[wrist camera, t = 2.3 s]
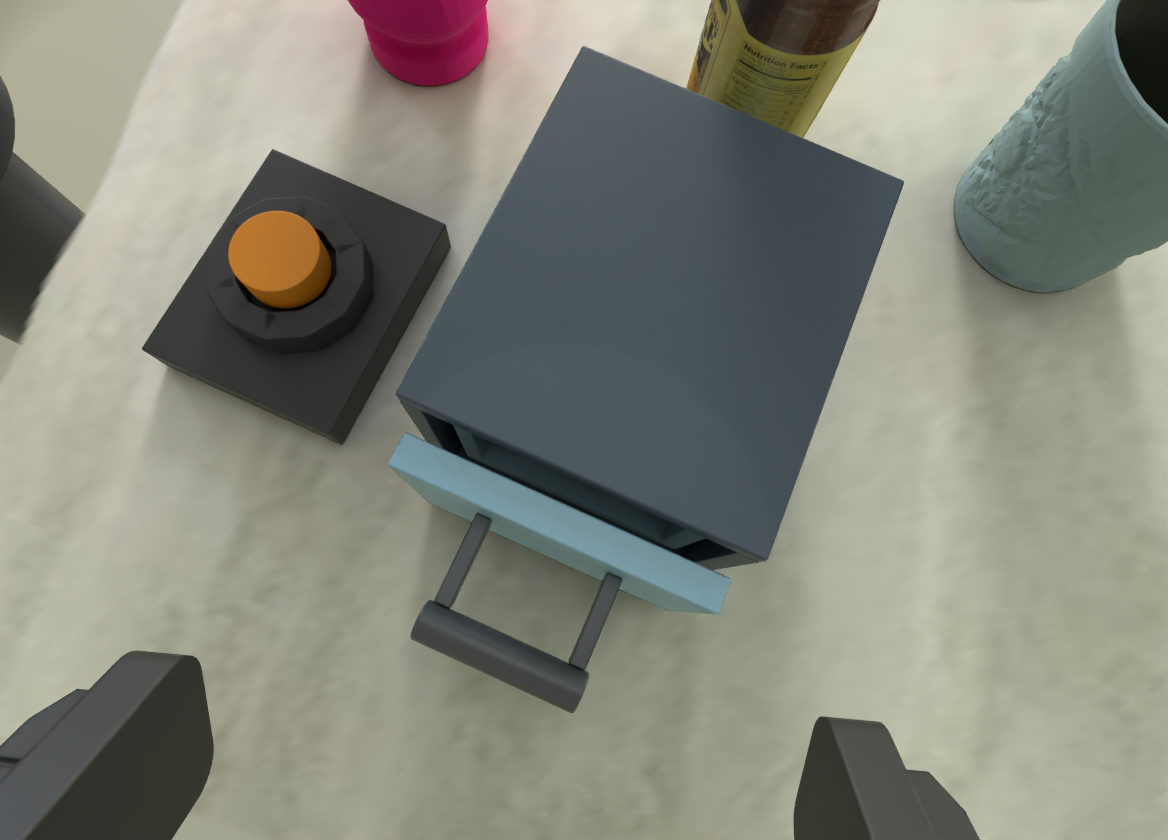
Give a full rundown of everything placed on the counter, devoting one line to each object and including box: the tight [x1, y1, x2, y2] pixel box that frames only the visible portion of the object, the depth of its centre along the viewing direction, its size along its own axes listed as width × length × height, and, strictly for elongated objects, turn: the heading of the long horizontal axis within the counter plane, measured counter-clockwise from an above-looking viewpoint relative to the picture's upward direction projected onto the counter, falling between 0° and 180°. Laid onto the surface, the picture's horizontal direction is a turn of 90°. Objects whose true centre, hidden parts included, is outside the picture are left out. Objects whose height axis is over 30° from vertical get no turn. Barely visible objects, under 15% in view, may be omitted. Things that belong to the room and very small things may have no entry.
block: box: [142, 149, 451, 444], centre depth 32 cm, size 9×11×4 cm
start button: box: [228, 211, 331, 308], centre depth 29 cm, size 4×4×2 cm
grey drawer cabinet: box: [396, 46, 904, 570], centre depth 29 cm, size 15×13×11 cm
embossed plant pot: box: [954, 0, 1168, 293], centre depth 32 cm, size 10×10×12 cm
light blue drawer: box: [388, 425, 731, 713], centre depth 27 cm, size 18×11×9 cm, turn 156°
